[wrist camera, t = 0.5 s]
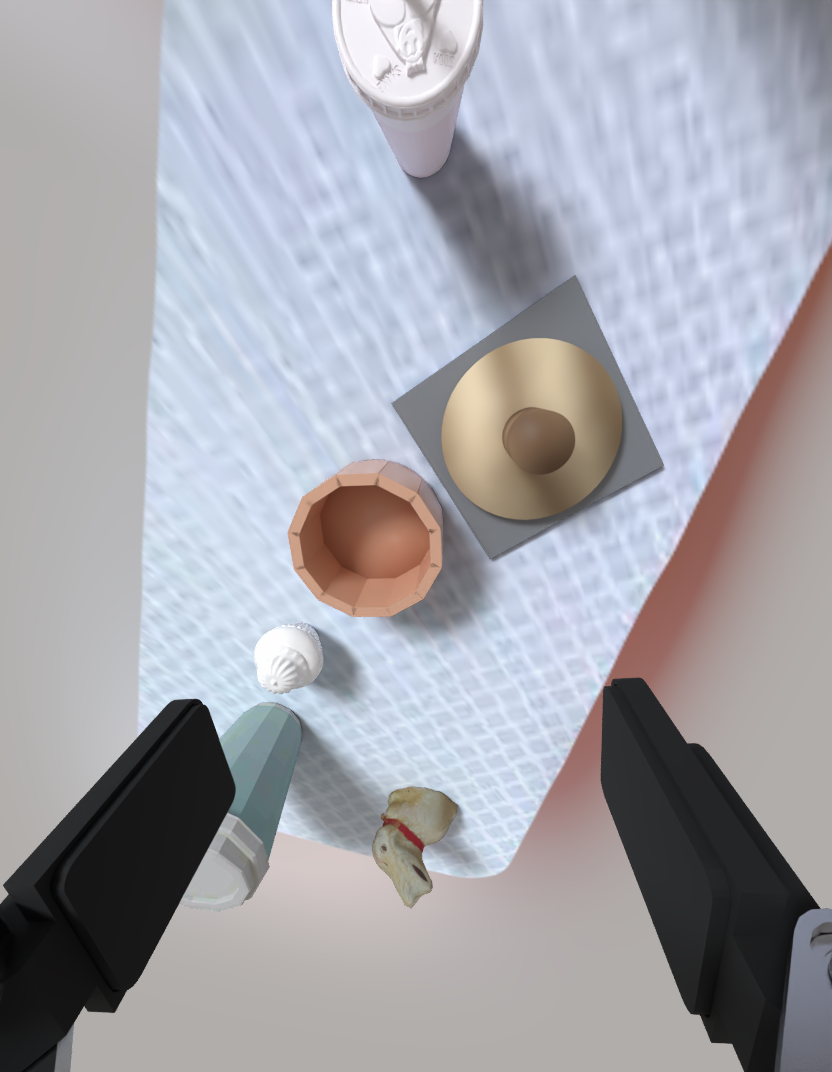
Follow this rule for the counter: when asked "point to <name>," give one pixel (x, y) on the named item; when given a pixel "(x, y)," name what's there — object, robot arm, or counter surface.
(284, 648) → the white cupcake
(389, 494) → the bowl
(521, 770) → the counter surface
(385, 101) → the smoothie
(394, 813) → the chocolate bunny
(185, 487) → the counter surface
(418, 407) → the mat
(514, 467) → the lid
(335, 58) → the counter surface
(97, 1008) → the robot arm
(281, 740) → the disposable coffee cup
